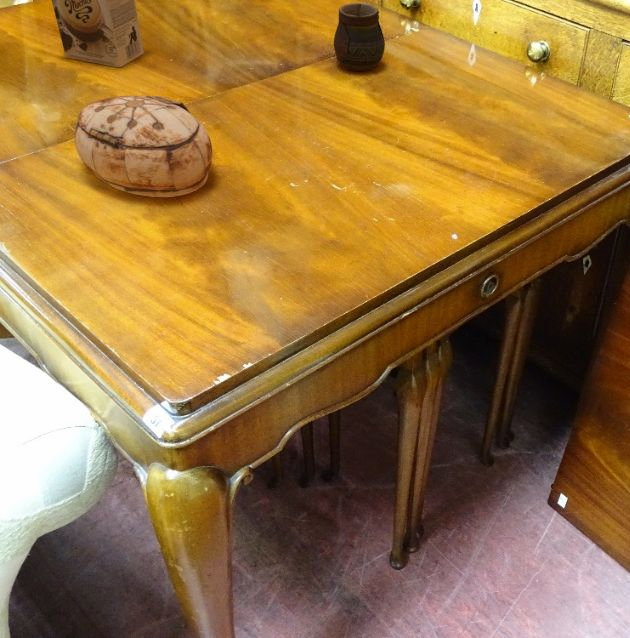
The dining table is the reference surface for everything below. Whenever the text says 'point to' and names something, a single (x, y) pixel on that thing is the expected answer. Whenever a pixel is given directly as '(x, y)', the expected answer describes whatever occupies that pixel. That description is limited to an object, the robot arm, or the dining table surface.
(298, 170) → the dining table surface
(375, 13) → the mate gourd
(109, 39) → the coffee box
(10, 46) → the dining table surface
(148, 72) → the dining table surface
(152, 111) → the trinket box
